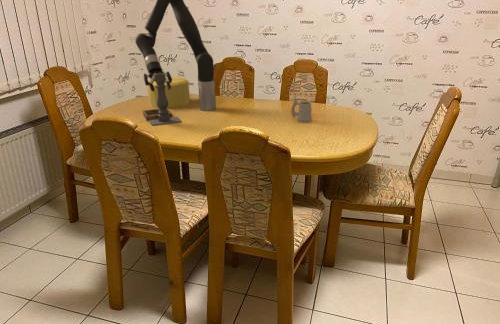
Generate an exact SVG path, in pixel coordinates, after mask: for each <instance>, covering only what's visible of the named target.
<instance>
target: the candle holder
mask: <svg viewBox="0 0 500 324" xmlns="http://www.w3.org/2000/svg"><path fill="white" fill-rule="evenodd" d="M164 73H165V72H164ZM164 73H157V74H154V79H155V82H156V84H157V85H156V88H157V90H158V98H157V106H158V107H159V108H158V109H160V110H159V112H158V114H157V115H158V120H159V122H168V121H170V114H169V111H170V110H169V109H168V108H167V107H168V100H167V97H166V94H165V87H166V85H164V84H165V80H166V78H167V77H166V76H165V74H164ZM167 109H168V110H169V111H168V110H167Z"/></svg>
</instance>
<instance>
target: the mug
mask: <svg viewBox="0 0 500 324" xmlns="http://www.w3.org/2000/svg"><path fill="white" fill-rule="evenodd" d="M291 105H292V106H291V109H290V114H291V116H292V118H293V119H294V118H295V117H297V121H298V122H299V123H302V124H303V123H304V124H307V123H311V122H312V120H313V116H312V109H313V108H312V102H310V101H300V102H298V100H297V98H296V97H294V98H293V103H292V104H291ZM296 106H298V111H297V112H296V110H295V109H296Z"/></svg>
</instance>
